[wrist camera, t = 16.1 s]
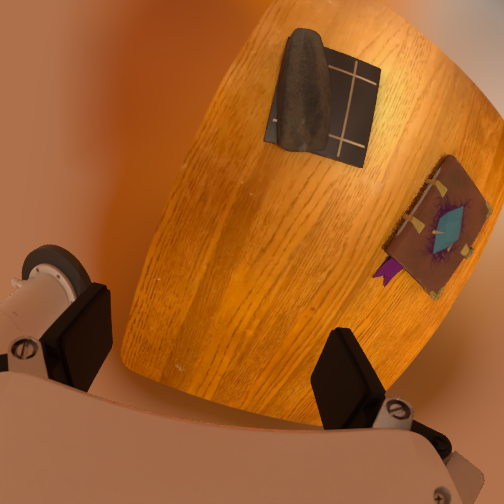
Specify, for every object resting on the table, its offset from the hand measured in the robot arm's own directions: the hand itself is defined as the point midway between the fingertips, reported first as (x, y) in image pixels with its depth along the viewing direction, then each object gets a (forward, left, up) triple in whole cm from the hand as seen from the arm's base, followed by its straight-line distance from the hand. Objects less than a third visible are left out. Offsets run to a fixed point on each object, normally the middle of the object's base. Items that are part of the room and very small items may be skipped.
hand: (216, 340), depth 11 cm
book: (+34, +4, -28) cm, 44 cm away
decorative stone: (+5, +18, -27) cm, 33 cm away
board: (+9, +18, -28) cm, 35 cm away
